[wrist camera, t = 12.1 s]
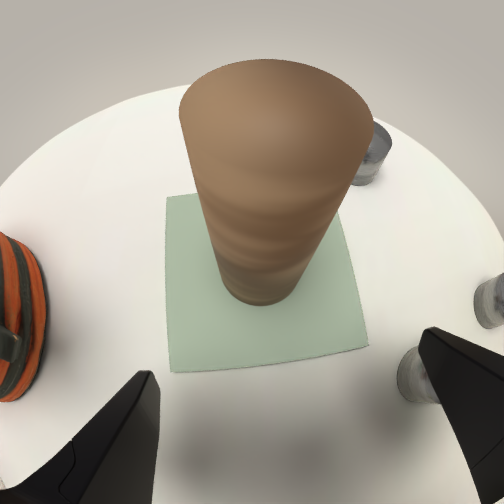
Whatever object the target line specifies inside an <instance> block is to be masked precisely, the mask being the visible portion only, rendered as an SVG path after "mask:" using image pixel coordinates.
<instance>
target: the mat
mask: <svg viewBox="0 0 504 504" xmlns="http://www.w3.org/2000/svg"><path fill="white" fill-rule="evenodd" d="M165 288H166V316H167V335H168V349H169V361H170V372H190V371H208V370H221V369H233V368H243V367H252V366H260V365H268V364H275V363H282V362H289V361H295V360H301V359H307V358H313V357H318V356H323V355H328V354H333V353H338V352H343V351H347V350H352V349H356V348H361V347H365V346H369V344H368V338H367V333H366V327H365V322H364V317H363V312H362V307H361V302H360V297H359V293H358V288H357V284H356V279H355V275H354V271H353V267H352V263H351V259H350V255H349V251H348V247H347V243H346V240H345V236H344V232H343V229H342V225H341V222H340V218H339V215H338V211H337V212H336V214H335V216H334V218H333V220H332V222H331V224H330V226H329V227H328V229H327V231H326V233H325V235H324V237H323V239H322V240H321V242H320V244H319V246H318V248H317V250H316V251H315V253H314V255H313V257H312V259H311V260H310V262H309V264H308V266H307V268H306V269H305V271H304V273H303V275H302V276H301V278H300V280H299V282H298V283H297V285H296V287H295V288H294V290H293V291H292V292H291V293H290V295H289V296H287V297H286V298H285V299H283V300H282V301H280V302H278V303H276V304H273V305H269V306H253V305H248V304H245V303H243V302H241V301H239V300H238V299H236V298H235V297H234V296H232V295H231V294H230V293H229V291H228V290H227V289H226V287H225V286H224V284H223V281H222V278H221V275H220V272H219V268H218V265H217V261H216V258H215V254H214V251H213V247H212V244H211V240H210V237H209V233H208V229H207V226H206V222H205V218H204V215H203V211H202V207H201V203H200V200H199V196H198V193H195V194H187V195H180V196H172V197H167V203H166V231H165Z"/></svg>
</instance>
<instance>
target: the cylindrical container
mask: <svg viewBox="0 0 504 504" xmlns="http://www.w3.org/2000/svg"><path fill="white" fill-rule="evenodd" d="M1 489H6V488H5V486H4V484H3V483H2V481H1V479H0V490H1Z"/></svg>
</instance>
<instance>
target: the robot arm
mask: <svg viewBox="0 0 504 504" xmlns="http://www.w3.org/2000/svg"><path fill="white" fill-rule="evenodd" d="M418 353H419V355H420V358H421V360H422V363H423V365H424V367H425V370H426V372H427V375H428V377H429V380H430V382H431V385H432V387H433V389H434V391H435V393H436V395H437V397H438V399H439V401H440V403H441V405H442V407H443V409H444V411H445V413H446V415H447V418H448V420H449V422H450V424H451V426H452V428H453V431H454V433H455V435H456V437H457V440H458V442H459V444H460V447H461V449H462V452H463V454H464V457H465V459H466V462H467V464H468V467H469V469H470V472H471V475H472V478H473V481H474V484H475V486H476V489H477V492H478V496H479V499H480V502H481V504H494V503H495V502H497V501H499V500H500V499H502V498H503V497H504V356H502V355H500V354H498V353H495V352H493V351H491V350H488V349H486V348H484V347H481V346H479V345H477V344H474V343H472V342H469V341H467V340H465V339H462V338H460V337H458V336H455V335H453V334H451V333H448V332H446V331H444V330H441V329H439V328H437V327H430V328H427V329H425V330H424V331H423V333H422V337H421V340H420V343H419V346H418ZM159 429H160V388H159V385H158V383H157V381H156V379H155V376H154V374H153V372H152V371H150V370H140V371H138V372H137V373H136V374H135V375H134V376H133V377H132V378H131V379H130V380H129V381H128V382H127V383H126V384H125V385H124V386H123V387H122V388H121V389H120V390H119V391H118V392H117V393H116V394H115V395H114V396H113V397H112V398H111V399H110V400H109V401H108V402H107V403H106V404H105V406H104V407H103V408H102V409H101V410H100V411H99V412H98V413H97V414H96V415H95V416H94V417H93V418H92V419H91V420H90V421H89V422H88V423H87V424H86V425H85V426H84V427H83V428H82V429H81V430H80V431H79V432H78V433H77V434H76V435H75V436H74V437H73V438H72V441H71V440H70V441H69V442H68V443H67V444H66V445H65V446H64V447H63V448H62V449H61V450H60V451H59V452H58V453H57V454H56V455H55V456H54V457H53V458H51V459H50V460H49V461H48V462H47V463H46V464H44V465H43V466H42V467H41V468H39V469H38V470H37V471H36V472H34V473H33V474H32V475H30V476H29V477H28V478H27V479H25V480H24V481H23V482H21V483H20V484H18V485H17V486H15V487H12V488H9V489H1V490H0V504H152V494H153V484H154V474H155V465H156V457H157V449H158V442H159Z"/></svg>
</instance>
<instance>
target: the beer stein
mask: <svg viewBox="0 0 504 504" xmlns="http://www.w3.org/2000/svg"><path fill="white" fill-rule="evenodd" d="M45 318H46V302H45V295H44V291H43V282H42V277H41V273H40V270H39V268H38V265H37V262H36V260H35V258H34V257H33V255H32V253H31V252H30V251H29V250H28V248H27V247H26V246H25V245H24V244H22V243H21V242H19V241H16V240H15V239H12V238H10V237H8V236H6V235H5V234H3V233H2V232H0V402H10V401H14V400H15V399H16V398H19V397H20V396H21V395H22V394H23V393H24V392H25V391H26V389H28V388H29V386H30V384H31V383H32V381H33V379H34V377H35V374H36V373H37V369H38V366H39V361H40V357H41V354H42V350H43V345H44V344H45V343H44V341H45V339H44V328H45V327H44V326H45Z"/></svg>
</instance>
